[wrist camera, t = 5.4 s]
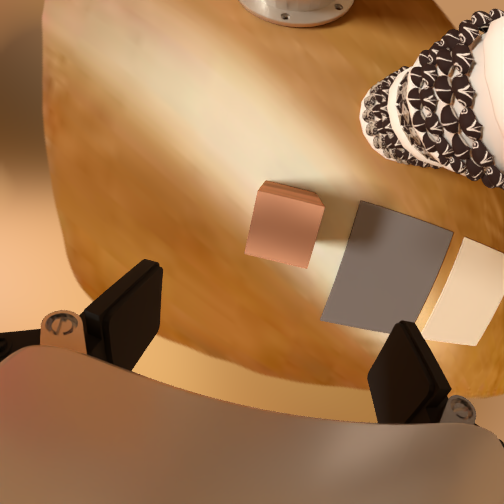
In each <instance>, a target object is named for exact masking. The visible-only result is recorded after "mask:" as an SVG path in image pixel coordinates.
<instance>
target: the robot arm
mask: <svg viewBox="0 0 504 504" xmlns="http://www.w3.org/2000/svg"><path fill="white" fill-rule="evenodd" d="M239 2H240V3H241V4H242V5H243V6H244V7H245V9H246V10H248V11H249V12H251V13H252V14H253V15H255V16H257V17H259V18H261V19H263V20H265V21H268V22H271V23H274V24H278V25H283V26H289V27H313V26H319V25H324V24H327V23H330V22H333V21H335V20H336V19H338V18H340V17H342V16H343V15H344V14H345V13H346V12H347V11H348V10H349V9H350V7H351V6H352V4H353V2H354V0H239ZM337 9H339V10H337ZM284 18H287V20H284ZM162 277H163V268H162V267H159V263H158V262H154V261H151V260H147V259H144V260H142V261H141V262H140V263H139V264H137V265H136V266H135V267H134V268H132V269H131V270H130V271H129V272H128V273H126V274H125V275H124V276H123V277H122V278H120V279H119V280H118V281H117V282H116V283H114V284H113V285H112V286H111V287H110V288H109V289H107V290H106V291H105V292H104V293H103V294H102V295H100V296H99V297H98V298H97V299H96V300H95V301H93V302H92V303H91V304H90V305H89V306H88V307H87V308H86V309H85V310H84V312H82V313H81V314H80V315H78V314H76V313H74V312H71V311H67V310H66V311H65V310H60V311H55V312H52V313H50V314H48V315H47V316H45V318H44V319H43V320H42V323H41V329H36V330H26V331H16V332H5V333H0V504H504V443H503V442H502V441H501V440H500V439H498V438H497V436H496V435H495V434H494V433H492V432H491V431H489V430H487V429H485V428H482V427H480V426H478V425H477V424H475V419H476V411H475V408H474V407H473V405H472V404H471V402H470V401H469V400H467V399H466V398H464V397H462V396H459V395H453V396H451V397H450V398H449V399H448V397H447V395H448V393H449V392H450V391H451V387H450V385H449V383H448V381H447V379H446V377H445V375H444V374H443V372H442V370H441V368H440V366H439V364H438V362H437V361H436V359H435V357H434V355H433V353H432V352H431V350H430V348H429V346H428V345H427V343H426V341H425V339H424V338H423V336H422V334H421V333H420V331H419V329H418V328H417V326H416V324H415V323H414V322H409V321H404V320H401V321H400V322H399V323H396V324H395V325H394V327H393V329H392V331H391V333H390V335H389V337H388V339H387V341H386V342H385V344H384V346H383V348H382V350H381V352H380V353H379V355H378V357H377V359H376V360H375V362H374V364H373V365H372V367H371V369H370V371H369V373H368V378H367V379H368V383H369V387H370V391H371V395H372V399H373V404H374V408H375V412H376V416H377V421H378V423H365V422H349V421H339V420H329V419H320V418H312V417H305V416H298V415H291V414H285V413H279V412H274V411H269V410H263V409H258V408H254V407H249V406H244V405H240V404H235V403H231V402H227V401H223V400H219V399H215V398H212V397H208V396H204V395H201V394H197V393H193V392H190V391H187V390H184V389H181V388H177V387H174V386H171V385H168V384H165V383H162V382H159V381H156V380H154V379H151V378H148V377H145V376H143V375H140V374H137V373H135V372H132V369H133V368H134V366H135V365H136V363H137V362H138V360H139V359H140V357H141V356H142V354H143V353H144V351H145V349H146V348H147V347H148V345H149V344H150V342H151V341H152V340H153V338H154V337H155V335H156V334H157V332H158V330H159V326H160V309H161V291H162Z"/></svg>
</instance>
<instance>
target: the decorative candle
mask: <svg viewBox="0 0 504 504" xmlns="http://www.w3.org/2000/svg"><path fill="white" fill-rule="evenodd" d="M471 20H472V21H471ZM471 20H464V21H462V22H461V23H460V25H459V31H458V30H455V29H452V30H449V31H448V32H447V33H446V35H444V36H443V37H442V38H441V41H437V42H435V43H434V44H433V46H432V47H431V48H430V49H429V50H423V51H422V52H421V53H420V55H419V57H418V58H417V60H416V62H415V63H414V65H413V66H412V67H410V68H409V67H407V66H403V67H401V68H400V69H399V70H398V71H396V72H394V73H392V74H390V75H389V76H387V77H386V78H384V79H383V80H382V81H380V82H378V83H377V84H376V85H374V86H373V87H372V88H371V89H370V90H369V91H368V93H367V94H366V96H365V97H364V99H363V101H362V102H361V110H360V117H359V118H360V122H361V126H362V131H363V134H364V136H365V137H366V139H367V140H368V142H369V144H370V145H371V147H372V148H373V149H374V150H375V151H377V152H378V153H379V154H381V155H382V156H383V157H384V158H386V159H389V160H393V161H396V162H398V163H404V164H406V165H409V164H412V165H414V166H420V167H430V166H431V167H432V168H434V169H438V168H441V167H444V168H446V169H448V170H451V171H453V172H456V173H458V174H461V175H463V176H467V178H468V179H470V180H472V181H477V180H478V179H480V178H481V179H482V182H483V183H484V185H485V186H487V187H488V188H495V187H500V188H502V189H503V190H504V12H503V11H501V10H499V9H492V10H491V11H490V12H489V14H488V13H486V12H483V11H477V12H475V13H474V14H473V15H472V17H471ZM479 30H480V31H482V32H484V34H482V35H480V34H479ZM478 35H479V36H478ZM477 36H478V37H477Z"/></svg>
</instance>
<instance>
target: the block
mask: <svg viewBox="0 0 504 504" xmlns="http://www.w3.org/2000/svg"><path fill="white" fill-rule="evenodd" d="M324 209H325V207H324V205H323V203H322V202H321V200H320V198H319V197H318V195H317V194H316V193H314V192H310V191H306V190H303V189H299V188H295V187H291V186H286V185H282V184H278V183H274V182H269V181H265V182H264V183H263V185H262V186H261V187H260V189H259V190H258V193H257V197H256V202H255V206H254V211H253V216H252V220H251V225H250V230H249V234H248V239H247V244H246V248H245V253H244V254H248V255H252V256H256V257H260V258H264V259H268V260H273V261H277V262H281V263H285V264H289V265H293V266H298V267H302V268H306V269H307V267H308V264H309V261H310V257H311V254H312V251H313V247H314V244H315V241H316V237H317V234H318V230H319V227H320V223H321V220H322V216H323V212H324Z"/></svg>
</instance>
